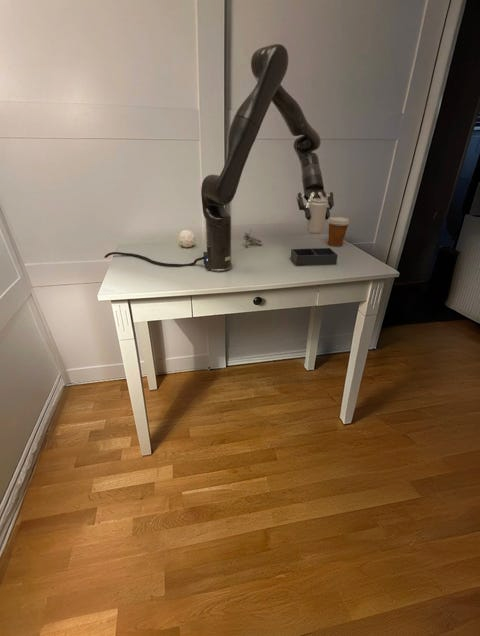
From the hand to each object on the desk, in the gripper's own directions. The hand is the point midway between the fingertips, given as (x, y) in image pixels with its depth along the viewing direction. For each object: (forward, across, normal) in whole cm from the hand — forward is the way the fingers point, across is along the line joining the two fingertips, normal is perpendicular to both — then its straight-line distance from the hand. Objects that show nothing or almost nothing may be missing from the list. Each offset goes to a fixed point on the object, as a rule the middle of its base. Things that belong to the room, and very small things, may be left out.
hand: (318, 218), depth 116 cm
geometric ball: (-7, -50, +33) cm, 60 cm away
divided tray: (+10, +2, +16) cm, 19 cm away
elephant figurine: (-6, -20, +33) cm, 39 cm away
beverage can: (+3, 0, +5) cm, 6 cm away
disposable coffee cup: (-4, +20, +31) cm, 37 cm away
